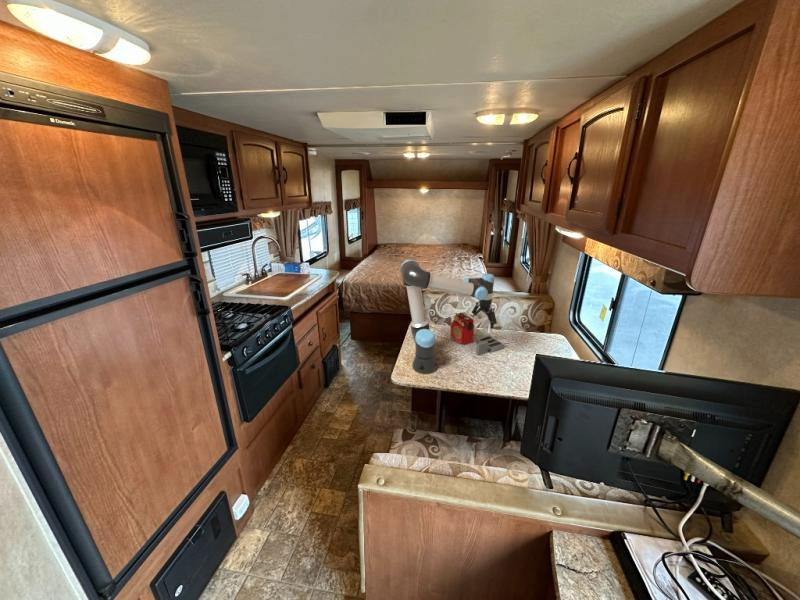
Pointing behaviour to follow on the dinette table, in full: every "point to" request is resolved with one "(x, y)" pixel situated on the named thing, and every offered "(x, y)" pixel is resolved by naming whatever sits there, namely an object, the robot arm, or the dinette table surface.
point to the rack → (491, 343)
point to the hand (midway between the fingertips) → (482, 328)
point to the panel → (481, 348)
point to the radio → (462, 328)
